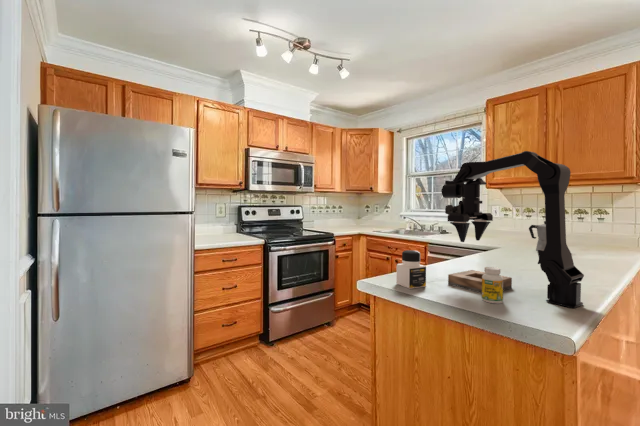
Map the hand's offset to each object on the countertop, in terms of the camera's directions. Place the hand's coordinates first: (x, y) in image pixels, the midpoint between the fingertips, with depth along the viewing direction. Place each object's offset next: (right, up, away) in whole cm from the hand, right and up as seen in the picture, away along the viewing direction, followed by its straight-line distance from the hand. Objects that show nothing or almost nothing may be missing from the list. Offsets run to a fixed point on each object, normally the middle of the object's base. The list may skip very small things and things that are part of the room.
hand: (470, 241), depth 109 cm
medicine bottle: (-23, -15, -4) cm, 28 cm away
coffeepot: (+79, -13, +72) cm, 108 cm away
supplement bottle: (-4, -16, -21) cm, 27 cm away
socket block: (0, -15, -6) cm, 16 cm away
